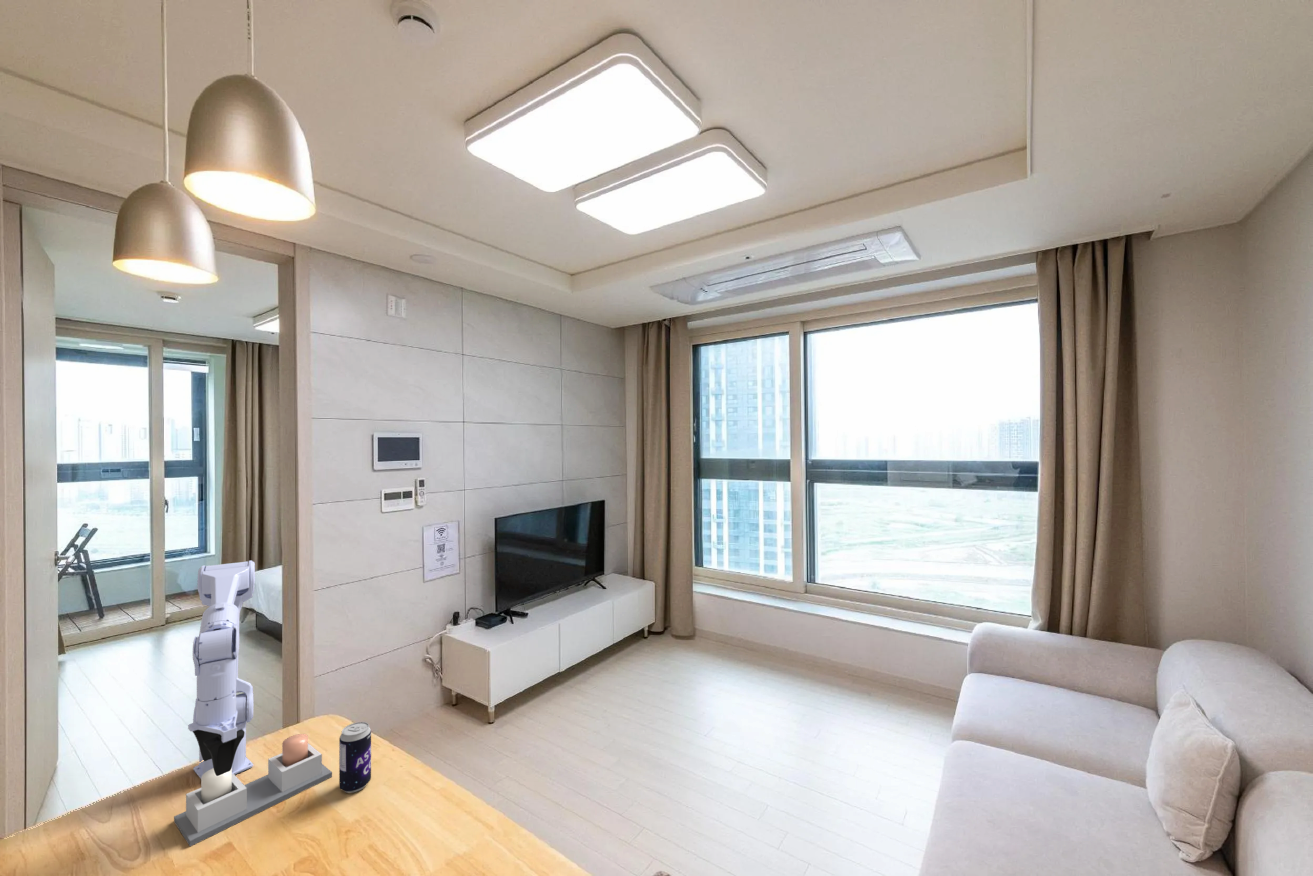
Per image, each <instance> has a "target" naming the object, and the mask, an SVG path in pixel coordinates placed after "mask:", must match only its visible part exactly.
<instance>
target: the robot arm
mask: <svg viewBox="0 0 1313 876" xmlns="http://www.w3.org/2000/svg"><path fill="white" fill-rule="evenodd" d="M255 563H256V562H255V561H253V560H248V561H241V562H232V563H231V562H230V563H222V564H220V563H219V564H212V565H211V564H210V565H205V564H204V565H201V567H200V568H199V569H198V572H197V583H196V584H197V592H198V596H199V600H200V602H201V604H202V605H203V606H208V607H207V608H206V609H205V610H204V611H203V614H202V617H201V622H200V628H199V633H198V636H194V638H193V642H192V643H193V644H192V662H193V665H194V676H195V677H196V698H195V704H194V710H193V719H192V723H190V724H188V725H187V730H188V731H190V732H192V733H193V735H194V737H195V739H196V741H197V744H198V746H199V748H198V752H199V753H198V755H199V757H198V758H199V759H198V760H199V761H198V762H201V761H202V760H204V761H203V762H201V763H198V764H197V765H195V766H194V767H193V771H194V773H196V775H197V776H198V777H199V779H200V780H201V777H202V775H203V774H204V773H205V772H207V771H208V770H210V769H213V768H214V772H215V774H216V776H219V775H221V774H224V773H226V772H229V771H230V770H231V768H232V774H234V775H235V776H236V775H237V774H240V773H242V772H245V771H247V770H248V769H252V768H253V767H254V763H253V762H252V761H251V760H250V759H249V758H248V757H247V723H250V722H251V721H252V720H253V719H254V707H255V705H254V703H255V701H254V696H255V695H254V686H253V685H252V683H251V682H249V681H246V680H244V679H242V678H239V654H240V653H239V652H240V615H241V610H242V607H243V604H244V603H245V602H247V601H248V600H250V599H252V598H253V594H255V582H256V573H255V572H256V564H255Z"/></svg>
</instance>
